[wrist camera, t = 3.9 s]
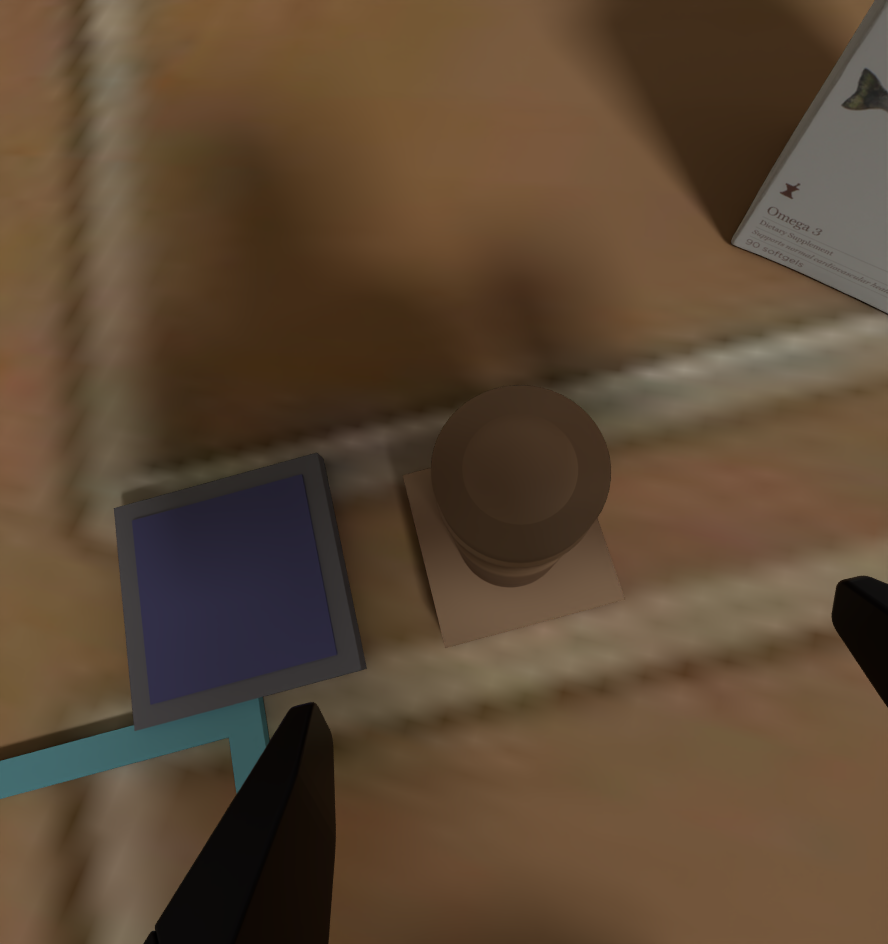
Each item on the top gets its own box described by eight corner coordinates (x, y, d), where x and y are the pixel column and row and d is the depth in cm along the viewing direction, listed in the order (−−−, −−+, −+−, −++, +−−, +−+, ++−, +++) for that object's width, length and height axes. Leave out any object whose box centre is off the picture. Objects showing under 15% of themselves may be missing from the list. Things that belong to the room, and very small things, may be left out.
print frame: (329, 1130, 17) (326, 1142, 16) (-76, 1235, 17) (-89, 1249, 16) (261, 690, 20) (257, 691, 20) (-74, 780, 20) (-85, 783, 20)
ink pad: (366, 668, 20) (360, 670, 19) (148, 727, 20) (132, 731, 19) (323, 458, 22) (316, 451, 21) (126, 512, 22) (112, 507, 21)
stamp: (614, 601, 20) (737, 575, 10) (449, 646, 20) (403, 665, 10) (561, 445, 21) (621, 286, 12) (409, 486, 22) (336, 365, 12)
